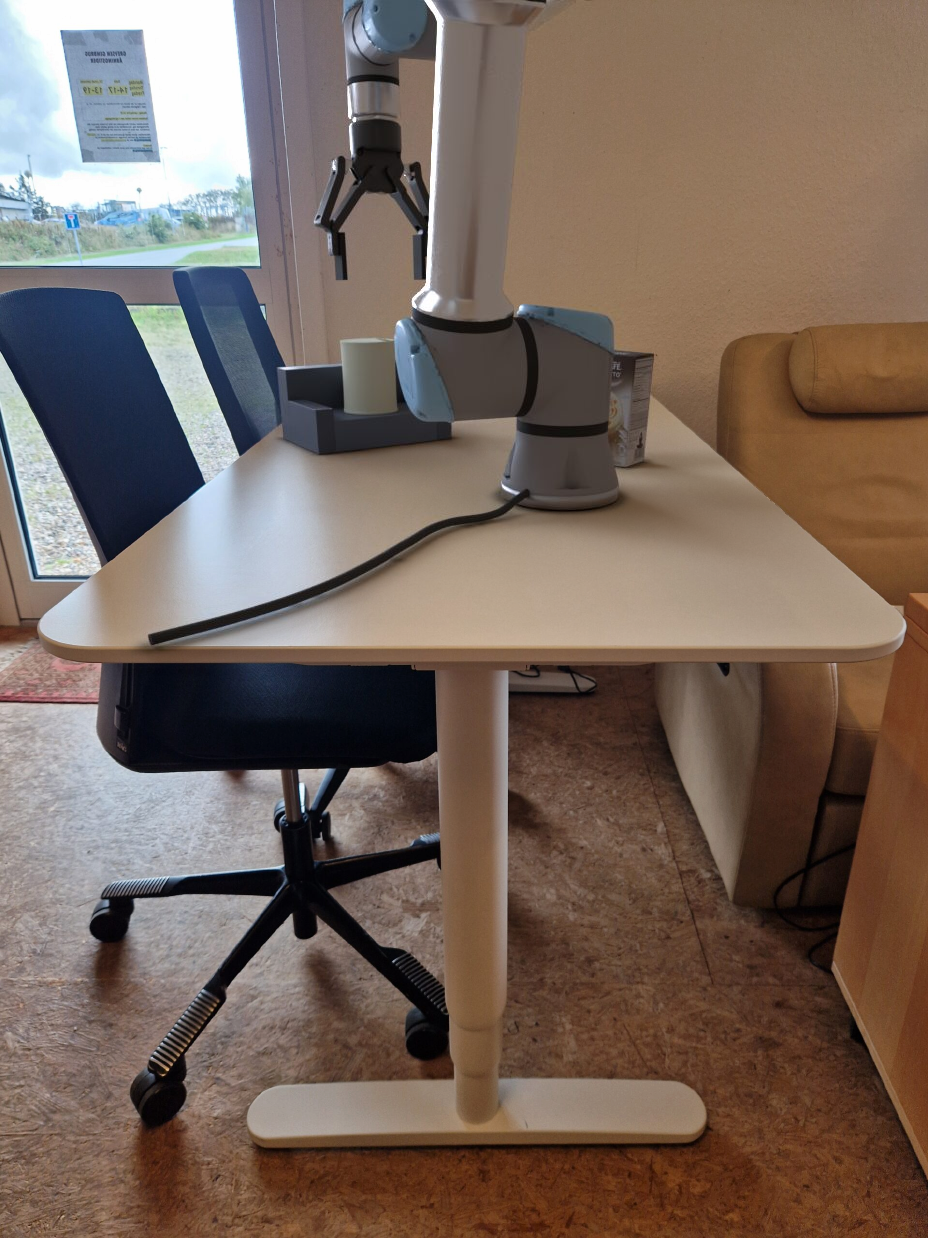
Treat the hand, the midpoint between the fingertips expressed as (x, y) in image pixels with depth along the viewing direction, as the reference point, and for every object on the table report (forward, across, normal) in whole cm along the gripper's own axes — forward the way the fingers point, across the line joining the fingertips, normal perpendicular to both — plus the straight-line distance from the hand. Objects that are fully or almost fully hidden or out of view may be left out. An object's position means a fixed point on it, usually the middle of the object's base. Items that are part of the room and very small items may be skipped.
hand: (381, 280), depth 127 cm
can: (+21, 0, -7) cm, 22 cm away
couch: (+26, 0, -9) cm, 27 cm away
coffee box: (+26, -24, +28) cm, 45 cm away
